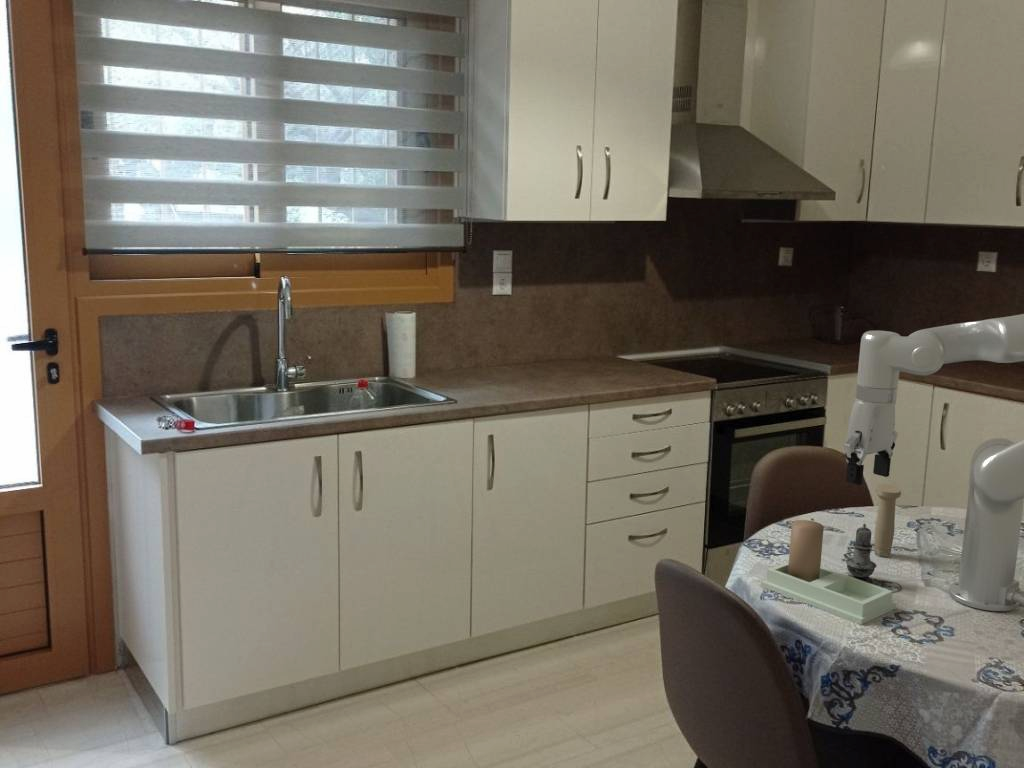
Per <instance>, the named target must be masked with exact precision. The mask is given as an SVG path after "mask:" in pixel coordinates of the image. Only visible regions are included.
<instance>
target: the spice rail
mask: <svg viewBox="0 0 1024 768" xmlns="http://www.w3.org/2000/svg"><path fill="white" fill-rule="evenodd" d="M824 527H825V526H824V525H823V524H822V523H821V522H820V523H819V522H818V521H814V520H807V519H800V520H793V521H792V522H791V527H790V528H791V529H790V539H789V540H790V541H789V553H788V561H786V562H783V563H781V564H778V565H776V566H773V567H770V568H767V569H766V579H765V580H762V581H761V582H760V587H761V588H764V589H765V590H766V589H767V590H769V591H771V590H772V591H771V592H774V591H775V593H776V594H779V593H780V595H783V596H784V595H785V596H784V597H787V598H790V597H791V598H790V599H792V598H793V599H792V600H795V599H796V600H795V601H797V602H800V601H801V602H800V603H803V604H805V603H806V605H808V604H809V605H808V606H811V605H812V606H811V607H813V606H815V607H814V608H816V607H817V609H819V608H820V609H819V610H821V609H822V611H824V610H825V611H824V612H826V611H827V613H830V614H832V615H834V616H837V617H839V616H840V617H839V618H842V617H843V618H842V619H844V620H847V621H850V622H853V623H856V624H858V625H860V626H861V625H864V624H866V623H868V622H870V621H872V620H874V619H876V618H878V617H880V616H883V615H885V614H888V613H889V612H891V611H894V610H897V605H898V604H897V602H894V601H892V600H893V592H894V591H893V590H890V589H889V588H888V589H887V588H884V587H881V586H879V585H876V584H874V583H873V584H870V583H867V582H864V581H862V580H859V579H856V578H853V577H850V576H848V575H847V574H844V573H841V572H839V571H836V570H832V569H829V568H826V567H824V566H821V562H822V551H823V550H822V549H823V542H824V541H823V538H824V530H825V529H824ZM893 609H894V610H893Z"/></svg>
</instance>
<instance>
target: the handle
mask: <svg viewBox="0 0 1024 768" xmlns="http://www.w3.org/2000/svg"><path fill="white" fill-rule="evenodd" d="M875 495H876V496H877V497H879V499H878V500H879V501H878V508H877V515H876V520H875V529H874V548H873V549H874V554H875V555H876V556H878V557H883V558H884V557H885V558H887V557H889V556H890V555H891V553H892V547H893V542H894V536H895V525H896V524H895V521H896V520H895V519H896V502H897V501H896V500H897V499H898V498H901V495H902V489H901V488H900V487H899V486H897V485H895V484H887V483H879V484H877V485H876V487H875Z"/></svg>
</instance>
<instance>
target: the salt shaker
mask: <svg viewBox="0 0 1024 768" xmlns="http://www.w3.org/2000/svg"><path fill="white" fill-rule="evenodd" d="M871 542H872V531H871V529H870V528H868V527H867V524H866V523H863V524H862V526H861V527H858V528H857V529H856V533H855V541H854V543H852V545H853V547H854V551H853V556H852V557H851V558H848V559H846V560H845V564H846V567H847V571H848V572H849V574H848V575H847V576H850V577H853V578H856V579H859V580H862V581H864V582H867V583H870V584H873V585H874V580H873V579H872V578H871V575H873V574H874V572H875V569H876V568H877V563H876V562H874V561H872V560H871V549H872V548H873V545H872V544H871Z"/></svg>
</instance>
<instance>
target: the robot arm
mask: <svg viewBox="0 0 1024 768" xmlns="http://www.w3.org/2000/svg"><path fill="white" fill-rule="evenodd" d="M859 347H860V348H859V356H858V357H859V358H858V369H857V377H856V378H857V379H856V389H855V398H854V402H853V404H852V408H851V412H850V417H849V422H848V428H847V435H846V441H845V443H844V445H843V446H844V447H843V448H844V451H845V454H844V456H845V459H846V461H845V462H846V463H847V466H846V477H845V480H846V481H845V482H847V483H850V484H853V485H858V486H860V485H862V484H863V479H864V478H863V477H864V469H865V465H864V464H863V462H864V460H865V458H866V456H867V455H872V454H874V461H873V469H872V471H873V472H872V473H873V475H877V476H881V477H885V478H888V477H890V470H891V461H892V456H893V454H894V452H893V451H894V448H895V447H896V441H897V438H898V432H897V431H896V430H895V428H896V405H897V398H898V397H897V395H898V386H899V380H900V372H903V373H908V374H911V375H912V374H913V375H915V376H916V375H917V376H928V375H929V376H930V375H932V374H934V373H936V372H938V371H939V370H940V369H941V368H942V367H943V365H945V364H946V365H947V364H951V363H959V362H966V361H967V362H968V361H969V362H970V361H986V362H987V361H988V362H992V363H998V364H1000V363H1002V364H1003V363H1004V364H1005V363H1006V364H1008V363H1009V364H1010V363H1018V362H1024V313H1021V314H1015V315H1011V316H1009V315H1008V316H1003V317H996V318H995V317H994V318H988V319H983V320H976V321H975V320H974V321H967V322H960V323H952V324H948V325H941V326H935V327H929V328H923V329H919V330H916V331H914V332H912V333H910V334H909V335H908V336H901V335H900V333H897V332H893V331H888V330H867V331H865V332H864V333H863V334H862V336H861V338H860V346H859ZM857 454H858V455H857ZM969 466H970V467H969V480H968V496H967V502H966V503H967V505H966V513H965V514H966V515H965V522H964V529H963V530H964V531H963V539H962V547H961V548H962V549H961V555H960V563H959V564H960V566H959V573H958V574H959V575H958V581H956V582H953V583H951V584H950V585H949V586H948V587H949V588H948V594H949V596H950V597H951V598H952V599H954V600H955V601H957V602H958V603H960V604H962V605H964V606H968V607H972V608H975V609H977V610H983V611H990V612H991V611H992V612H1010V611H1014V610H1017V609H1018V608H1019V607H1020V606H1021V605H1024V590H1022V589H1021V588H1020V581H1019V580H1017V579H1015V577H1016V575H1015V574H1016V565H1017V560H1018V558H1017V557H1018V552H1019V551H1018V550H1019V542H1020V534H1021V527H1022V522H1023V520H1022V519H1023V511H1024V438H1022V439H1019V440H1018V441H1016V442H1014V441H1012V440H1010V439H1008V438H1001V437H995V438H990V439H987V440H985V441H982V442H981V443H980V444H979V445H978V446H977V447H976V449H974V452H973V454H972V456H971V460H970V465H969Z"/></svg>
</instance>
